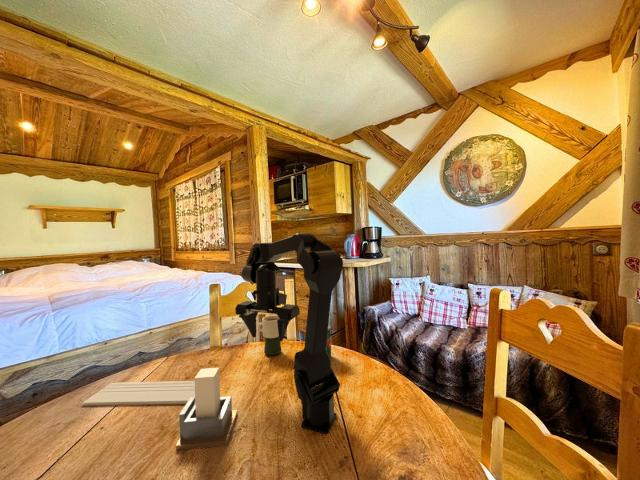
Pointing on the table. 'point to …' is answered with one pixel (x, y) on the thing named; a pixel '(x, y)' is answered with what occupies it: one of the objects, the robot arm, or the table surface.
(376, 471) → the table surface
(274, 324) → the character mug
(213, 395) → the cream rectangular block
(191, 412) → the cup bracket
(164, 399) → the baseboard molding
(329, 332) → the canned tomato
